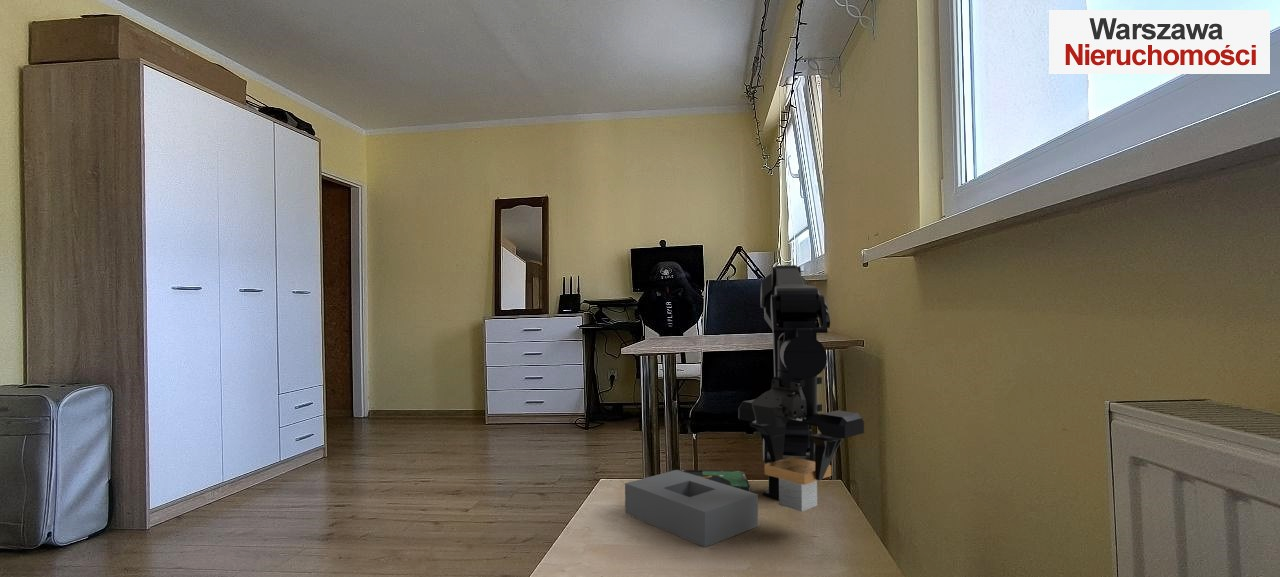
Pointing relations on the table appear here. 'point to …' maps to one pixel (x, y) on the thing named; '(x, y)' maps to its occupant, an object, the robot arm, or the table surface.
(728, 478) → the disk drive
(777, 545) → the table surface
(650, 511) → the gray rectangular block
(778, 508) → the table surface
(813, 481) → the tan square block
